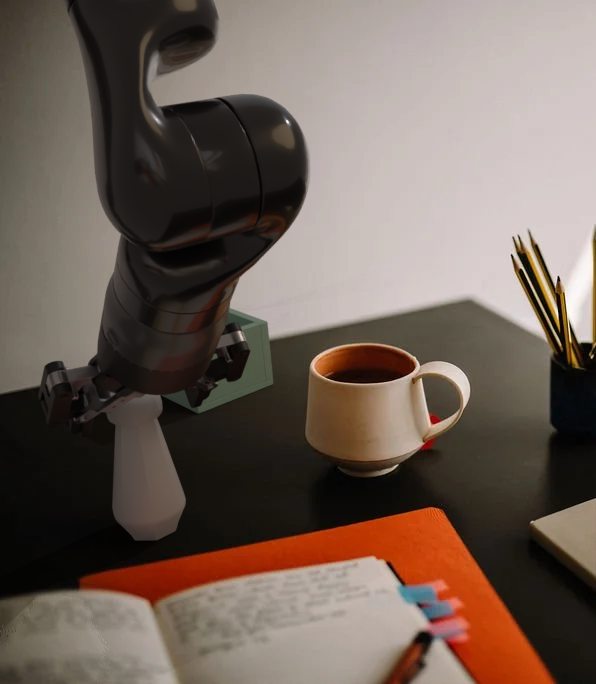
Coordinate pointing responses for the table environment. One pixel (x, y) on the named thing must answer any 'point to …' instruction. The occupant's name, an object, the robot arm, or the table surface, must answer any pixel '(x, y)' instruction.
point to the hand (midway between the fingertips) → (138, 411)
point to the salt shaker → (144, 472)
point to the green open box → (254, 372)
